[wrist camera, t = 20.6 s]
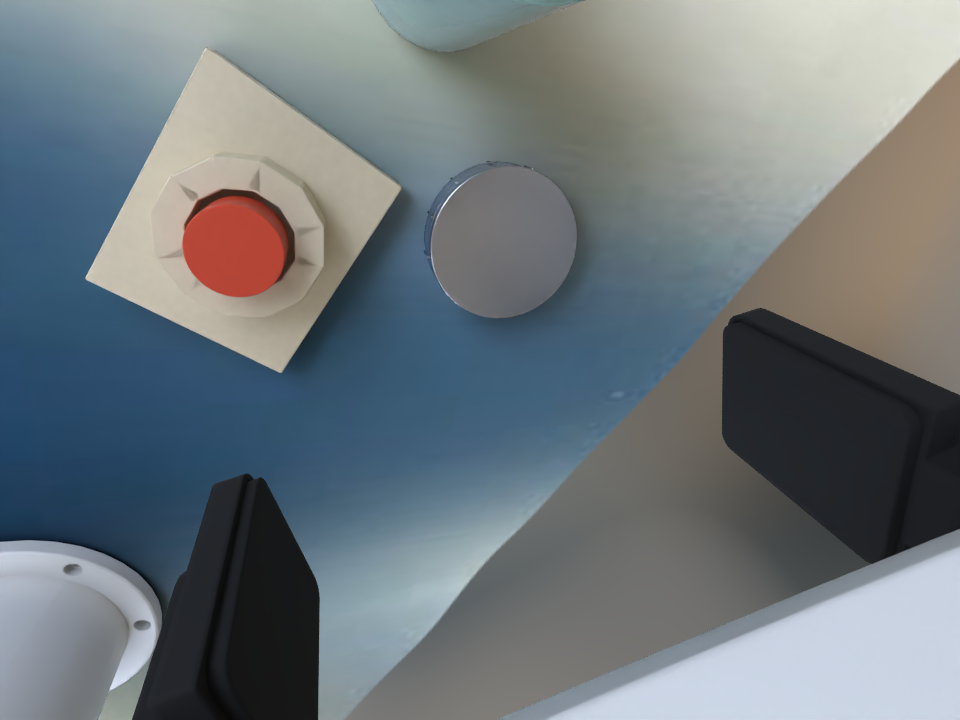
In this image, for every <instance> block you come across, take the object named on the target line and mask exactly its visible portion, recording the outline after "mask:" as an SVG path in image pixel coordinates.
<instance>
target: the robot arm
mask: <svg viewBox="0 0 960 720" xmlns="http://www.w3.org/2000/svg"><path fill="white" fill-rule="evenodd" d="M722 391H723V392H722V398H723V399H722V435H723V438H724V440H725V443H726V444H727V446H728V447H729V448H730V449H731V450H732V451H733V452H734V453H736V454H737V455H738V456H739V457H740V458H742V459H743V460H744V461H745V462H747V463H748V464H749V465H750V466H751V467H753V468H754V469H755V470H756V471H757V472H759V473H760V474H761V475H762V476H764V477H765V478H766V479H767V480H768V481H769V482H771V483H772V484H773V485H774V486H775V487H777V488H778V489H779V490H780V491H782V492H783V493H784V494H785V495H786V496H788V497H789V498H790V499H791V500H792V501H794V502H795V503H796V504H797V505H798V506H800V507H801V508H802V509H803V510H805V511H806V512H807V513H808V514H809V515H811V516H812V517H813V518H814V519H815V520H817V521H818V522H819V523H820V524H821V525H823V526H824V527H825V528H826V529H827V530H829V531H830V532H831V533H832V534H834V535H835V536H836V537H837V538H838V539H840V540H841V541H842V542H843V543H844V544H846V545H847V546H848V547H849V548H850V549H852V550H853V551H854V552H855V553H856V554H858V555H859V556H860V557H862V558H863V559H864V560H865V561H867V562H869V563H871V565H868V566H866V567H864V568H861V569H859V570H856V571H854V572H851V573H849V574H846V575H844V576H842V577H839V578H837V579H834V580H832V581H829V582H827V583H824V584H822V585H819V586H817V587H814V588H812V589H809V590H807V591H804V592H802V593H800V594H797V595H795V596H792V597H790V598H787V599H785V600H783V601H780V602H778V603H775V604H773V605H770V606H768V607H766V608H763V609H761V610H758V611H756V612H753V613H751V614H749V615H746V616H744V617H741V618H739V619H737V620H734V621H732V622H729V623H727V624H724V625H722V626H719V627H717V628H715V629H712V630H710V631H707V632H705V633H703V634H700V635H698V636H695V637H693V638H690V639H688V640H686V641H683V642H681V643H678V644H676V645H674V646H671V647H669V648H666V649H664V650H662V651H659V652H657V653H655V654H652V655H650V656H647V657H645V658H642V659H640V660H637V661H635V662H633V663H630V664H628V665H625V666H623V667H621V668H618V669H616V670H614V671H611V672H608V673H606V674H604V675H601V676H599V677H597V678H594V679H592V680H590V681H587V682H585V683H582V684H580V685H578V686H575V687H573V688H570V689H568V690H566V691H563V692H561V693H559V694H556V695H554V696H551V697H549V698H547V699H544V700H542V701H539V702H537V703H535V704H533V705H530V706H528V707H526V708H523V709H520V710H518V711H516V712H513V713H511V714H509V715H506V716H504V717H501V718H499V719H497V720H960V395H958V394H956V393H954V392H951V391H949V390H947V389H944V388H942V387H940V386H938V385H935V384H933V383H931V382H929V381H926V380H924V379H922V378H920V377H917V376H915V375H913V374H910V373H908V372H906V371H904V370H901V369H899V368H897V367H895V366H892V365H890V364H888V363H886V362H883V361H881V360H879V359H877V358H874V357H872V356H870V355H868V354H865V353H863V352H861V351H859V350H856V349H854V348H851V347H850V346H847V345H845V344H843V343H841V342H838V341H836V340H834V339H832V338H829V337H827V336H825V335H822V334H820V333H818V332H816V331H813V330H811V329H809V328H807V327H804V326H802V325H800V324H798V323H795V322H793V321H791V320H789V319H786V318H784V317H782V316H779V315H777V314H775V313H773V312H770V311H768V310H766V309H762V308H758V309H755V310H751V311H749V312H745V313H742V314H739V315H736V316H733V317H732V318H731V319H730V321H729V324H728V326H726V327H725V329H724V331H723V390H722ZM319 602H320V598H319V589H318V585H317V582H316V579H315V577H314V575H313V573H312V571H311V569H310V567H309V565H308V563H307V561H306V559H305V557H304V555H303V553H302V551H301V549H300V547H299V545H298V543H297V542H296V540H295V538H294V536H293V534H292V532H291V530H290V528H289V526H288V524H287V522H286V520H285V518H284V516H283V514H282V512H281V510H280V508H279V506H278V504H277V503H276V501H275V499H274V497H273V495H272V493H271V491H270V489H269V487H268V485H267V483H266V482H265V480H264V479H263V478H258V479H253V477H252V476H251V475H250V474H244V475H241V476H238V477H235V478H231V479H228V480H225V481H222V482H219V483H216V484H214V485H213V487H212V490H211V493H210V496H209V500H208V503H207V506H206V509H205V513H204V516H203V519H202V523H201V526H200V529H199V532H198V536H197V539H196V542H195V545H194V549H193V552H192V555H191V559H190V562H189V565H188V568H187V572H184V573H183V574H182V575H181V576H180V577H179V578H178V580H177V582H176V585H175V587H174V591H173V594H172V597H171V600H170V603H169V606H168V609H167V612H166V616H165V619H164V622H163V625H162V612H161V608H160V604H159V600H158V598H157V597H156V595H155V593H154V591H153V590H152V588H151V587H150V585H149V584H148V583H147V582H146V581H145V580H144V579H143V578H142V577H141V576H140V575H139V574H138V573H136V572H135V571H134V570H132V569H131V568H129V567H128V566H126V565H125V564H124V563H122V562H120V561H118V560H116V559H114V558H112V557H110V556H107V555H105V554H103V553H101V552H97V551H94V550H91V549H88V548H85V547H82V546H77V545H72V544H66V543H60V542H54V541H36V540H22V541H7V542H0V720H98V718H99V716H100V713H101V710H102V708H103V705H104V703H105V700H106V697H107V695H108V692H109V691H110V690H112V689H114V688H116V687H117V686H119V685H121V684H123V683H125V682H126V681H127V680H128V679H130V678H131V677H132V676H134V675H135V674H136V673H137V672H139V671H140V669H141V668H142V667H143V666H144V665H145V664H146V662H147V661H148V660H149V659H150V657H151V655H152V653H153V651H154V653H153V656H152V659H151V662H150V665H149V669H148V672H147V675H146V678H145V681H144V684H143V687H142V690H141V694H140V697H139V700H138V703H137V706H136V709H135V712H134V715H133V718H132V720H318V677H319ZM154 649H155V650H154Z"/></svg>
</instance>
